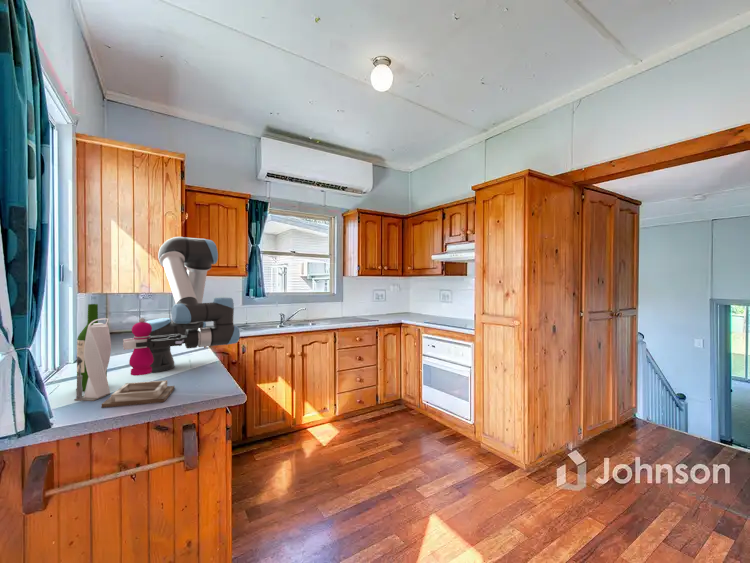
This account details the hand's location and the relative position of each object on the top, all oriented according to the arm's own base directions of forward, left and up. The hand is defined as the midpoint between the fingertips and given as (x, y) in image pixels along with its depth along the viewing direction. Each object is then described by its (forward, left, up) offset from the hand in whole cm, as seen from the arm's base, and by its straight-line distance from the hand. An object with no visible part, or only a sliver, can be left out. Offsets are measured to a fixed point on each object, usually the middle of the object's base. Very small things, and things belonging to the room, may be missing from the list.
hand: (123, 344), depth 118 cm
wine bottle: (-19, -17, -20) cm, 32 cm away
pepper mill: (-2, +5, -11) cm, 12 cm away
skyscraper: (-7, -11, -20) cm, 24 cm away
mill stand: (-2, +5, -20) cm, 20 cm away
